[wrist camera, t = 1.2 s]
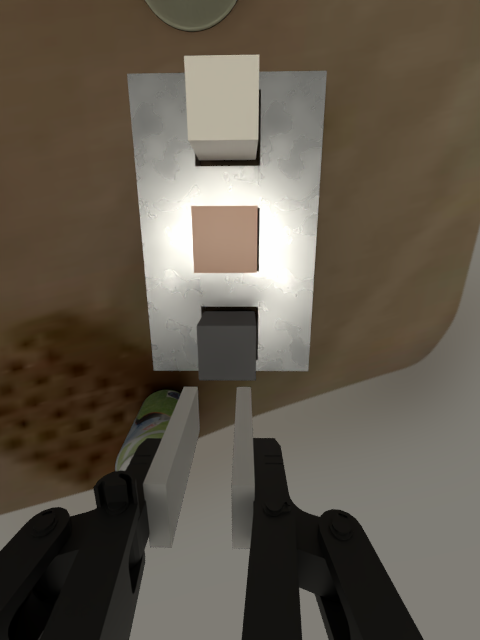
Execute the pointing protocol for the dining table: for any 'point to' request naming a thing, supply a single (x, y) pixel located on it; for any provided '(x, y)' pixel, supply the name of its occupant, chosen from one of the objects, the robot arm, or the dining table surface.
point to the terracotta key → (224, 239)
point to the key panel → (230, 190)
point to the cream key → (222, 106)
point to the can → (191, 12)
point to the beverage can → (148, 424)
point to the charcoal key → (227, 345)
